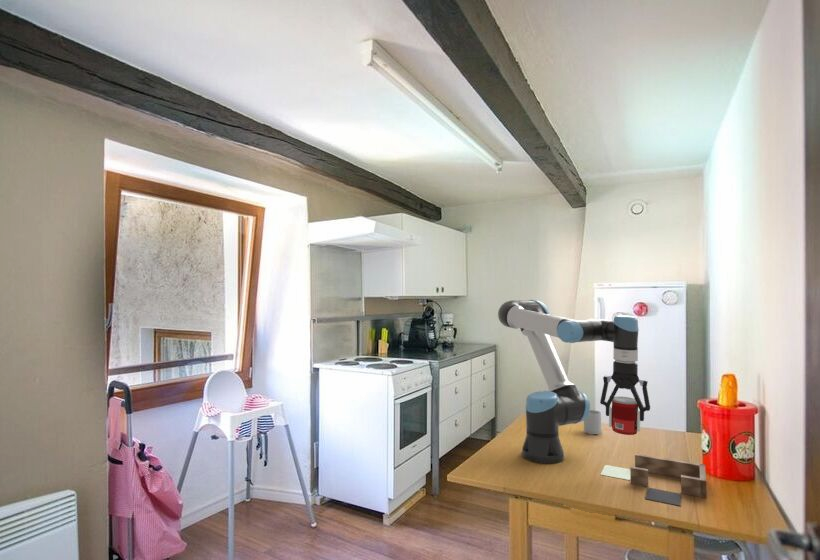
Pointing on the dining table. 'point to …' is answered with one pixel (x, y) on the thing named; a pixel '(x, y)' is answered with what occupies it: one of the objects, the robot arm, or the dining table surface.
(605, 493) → the dining table surface
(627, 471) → the pad
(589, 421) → the cup
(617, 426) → the canned food
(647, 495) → the mat
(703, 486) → the wooden walled channel
